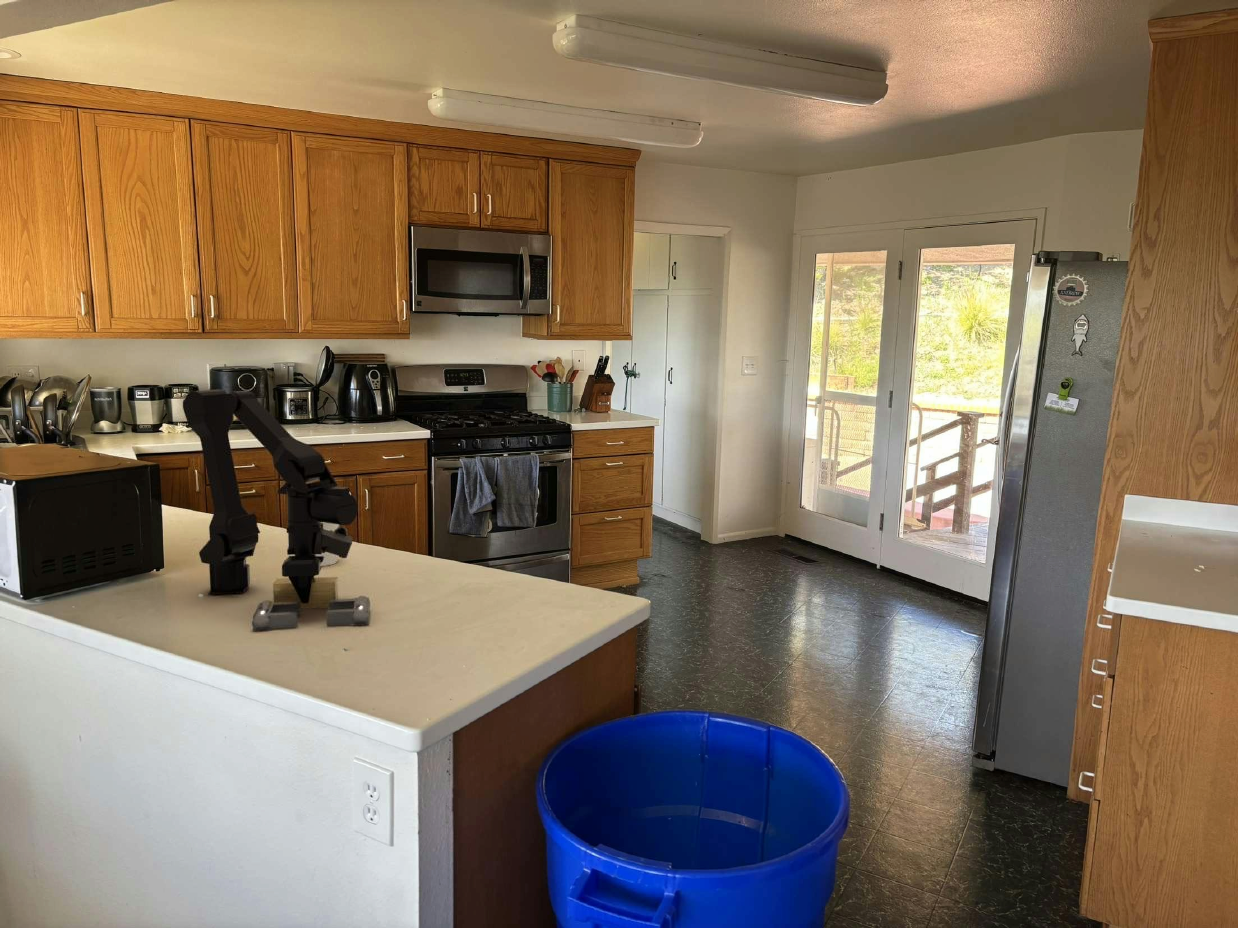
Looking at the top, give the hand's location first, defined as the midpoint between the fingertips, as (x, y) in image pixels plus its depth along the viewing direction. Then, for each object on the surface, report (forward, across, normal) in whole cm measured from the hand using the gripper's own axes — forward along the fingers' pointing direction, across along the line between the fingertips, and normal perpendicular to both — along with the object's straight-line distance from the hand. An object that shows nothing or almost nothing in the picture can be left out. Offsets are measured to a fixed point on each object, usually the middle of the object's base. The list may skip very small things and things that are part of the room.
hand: (306, 599), depth 163 cm
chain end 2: (+1, -9, -8) cm, 12 cm away
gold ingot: (+1, 0, 0) cm, 1 cm away
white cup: (+1, +30, 0) cm, 30 cm away
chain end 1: (+1, -9, +4) cm, 10 cm away
